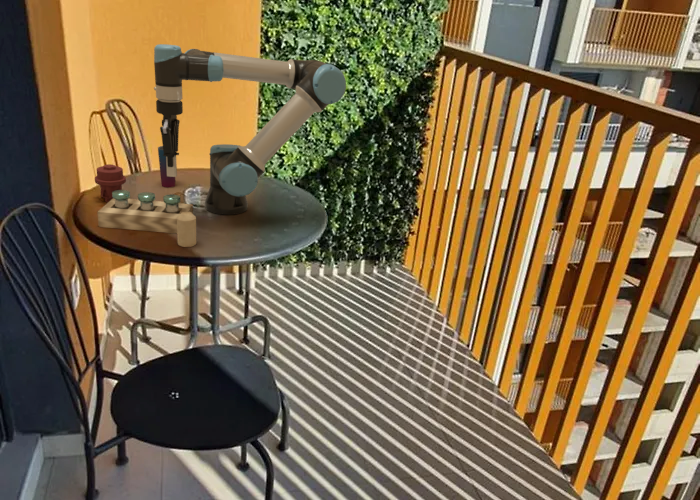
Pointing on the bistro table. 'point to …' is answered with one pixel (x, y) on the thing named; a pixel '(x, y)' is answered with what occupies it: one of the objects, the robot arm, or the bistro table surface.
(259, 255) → the bistro table surface
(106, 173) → the mechanical component
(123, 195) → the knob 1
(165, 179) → the cup
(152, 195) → the green lidded glass jar
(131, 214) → the birch block
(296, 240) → the bistro table surface
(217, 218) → the bistro table surface
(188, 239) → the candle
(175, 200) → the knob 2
